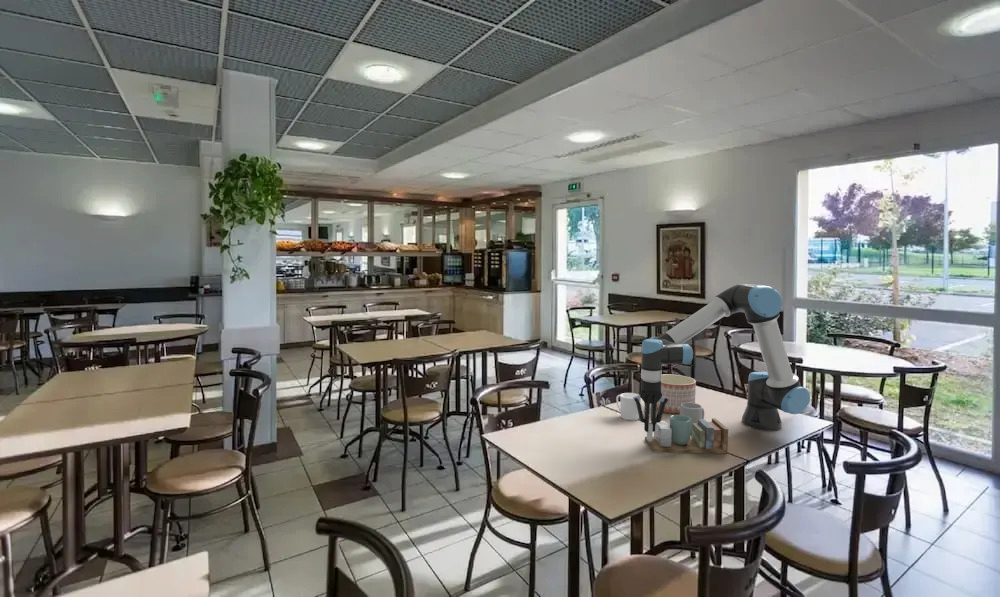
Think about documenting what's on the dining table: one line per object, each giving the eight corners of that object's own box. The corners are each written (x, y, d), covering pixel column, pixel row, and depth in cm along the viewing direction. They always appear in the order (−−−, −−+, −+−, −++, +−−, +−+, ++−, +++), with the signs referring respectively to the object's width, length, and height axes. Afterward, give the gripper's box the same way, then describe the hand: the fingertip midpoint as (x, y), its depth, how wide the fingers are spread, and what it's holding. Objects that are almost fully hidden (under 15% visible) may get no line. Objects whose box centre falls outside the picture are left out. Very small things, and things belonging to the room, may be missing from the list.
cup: (688, 448, 184) (689, 422, 183) (666, 444, 188) (667, 419, 187) (692, 441, 190) (693, 416, 189) (671, 437, 194) (672, 413, 193)
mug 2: (691, 436, 199) (692, 409, 198) (674, 429, 207) (675, 404, 206) (711, 431, 205) (712, 405, 204) (694, 424, 213) (695, 400, 212)
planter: (691, 405, 240) (692, 375, 239) (697, 417, 221) (699, 385, 220) (650, 402, 244) (651, 373, 243) (653, 414, 226) (654, 383, 224)
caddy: (714, 440, 194) (715, 418, 194) (727, 453, 182) (728, 429, 182) (644, 439, 196) (645, 417, 195) (652, 452, 184) (653, 428, 183)
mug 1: (642, 416, 223) (643, 394, 222) (636, 422, 215) (637, 399, 214) (619, 412, 229) (619, 391, 228) (612, 418, 221) (613, 395, 220)
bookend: (664, 437, 194) (664, 420, 193) (671, 446, 185) (671, 428, 184) (653, 437, 194) (654, 420, 193) (660, 446, 185) (660, 428, 184)
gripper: (665, 377, 191) (663, 436, 193) (631, 377, 191) (630, 435, 193) (671, 382, 183) (669, 443, 185) (636, 382, 184) (634, 443, 186)
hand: (649, 439), depth 189 cm, fingers closed
